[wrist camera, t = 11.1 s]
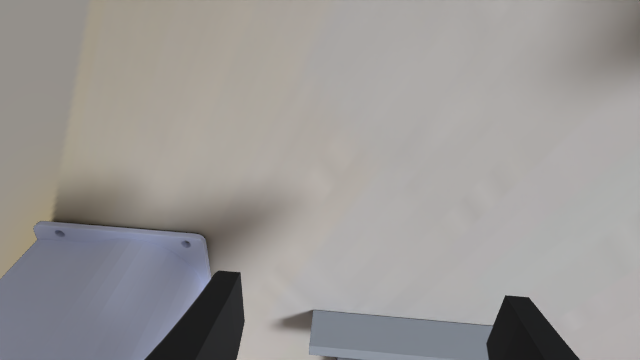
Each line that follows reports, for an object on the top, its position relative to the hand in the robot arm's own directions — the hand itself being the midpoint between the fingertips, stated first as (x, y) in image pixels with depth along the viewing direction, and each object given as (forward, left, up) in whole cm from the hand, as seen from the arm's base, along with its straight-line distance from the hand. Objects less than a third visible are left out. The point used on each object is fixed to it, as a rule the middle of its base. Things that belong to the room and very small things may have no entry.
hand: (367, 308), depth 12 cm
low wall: (+5, -12, -9) cm, 16 cm away
